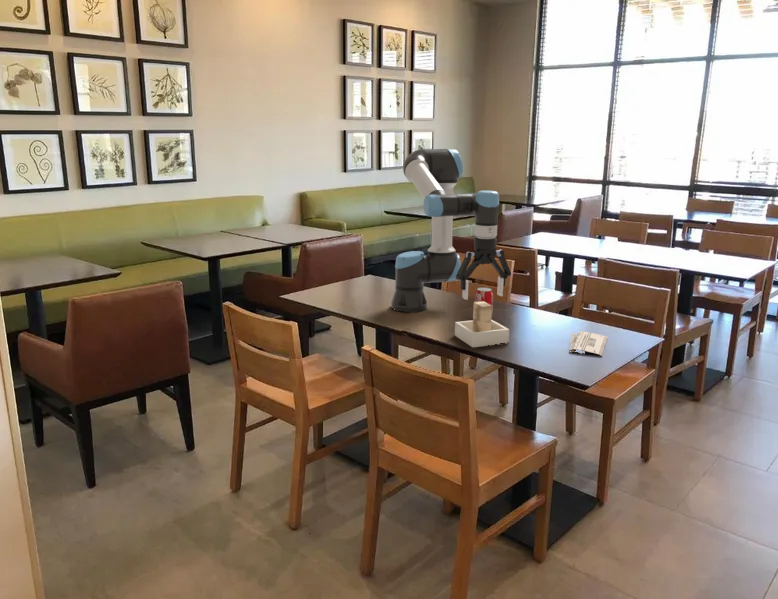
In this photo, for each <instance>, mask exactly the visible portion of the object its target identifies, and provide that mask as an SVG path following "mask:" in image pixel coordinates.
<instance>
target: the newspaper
mask: <svg viewBox="0 0 778 599" xmlns="http://www.w3.org/2000/svg"><path fill="white" fill-rule="evenodd" d="M576 334H577V335H576ZM607 338H609V337H608V336H606V335H603V334H600V333H594V332H587V331H577V332H576V333H575V332H573V333H571V338H570V341H569V345H571V344H572V346H571V348H570V350H569V353H572V352H575V351H576V349H577V350H582V351H585V352H587V353H590V354H591V353H593V354H596V355H599V357H600V356H601V357H603V356H604V352H605V349H606V345H607V341H608V339H607ZM604 348H605V349H604ZM570 351H571V352H570Z"/></svg>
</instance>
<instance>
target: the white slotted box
mask: <svg viewBox="0 0 778 599" xmlns="http://www.w3.org/2000/svg"><path fill="white" fill-rule="evenodd" d="M454 336H455V337H456V338H458V339H460V340H461V341H463V342H464V343H466V344H467V345H468V346H469V347H471V348H478V347H479V348H480V347H487V346H488V345H489V346H494V345H495V344H497V345H501V344H500V343H505V344H508V343H507V342H509V343H510V329H509V328H508V327H506V326H505V325H502V324H501V323H499V322H497V321H495V320H493V319H491V331H482V332H473V319H472V320H464V321H463V320H462V321H455V322H454Z"/></svg>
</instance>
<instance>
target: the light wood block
mask: <svg viewBox="0 0 778 599" xmlns="http://www.w3.org/2000/svg"><path fill="white" fill-rule="evenodd" d="M472 308H473V310H472V313H473V314H472V320H473V332H482V331H491V320H492V318H491V317H493V312H492V305H490V304H488V303H486V302H484V301H482V302H475V301H474V302H473V307H472Z"/></svg>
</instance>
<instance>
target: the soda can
mask: <svg viewBox="0 0 778 599" xmlns="http://www.w3.org/2000/svg"><path fill="white" fill-rule="evenodd" d="M482 301H484V302H486V303H488V304H490V305H492V313H493V310H494V308H493V307H494V306H493V305H494V293H493V291H492V288H490V287H483V286H482V287H478V288H477V289H476V291H475V294H474V302H482ZM492 317H493V316H492ZM492 317H491V319H492Z"/></svg>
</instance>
